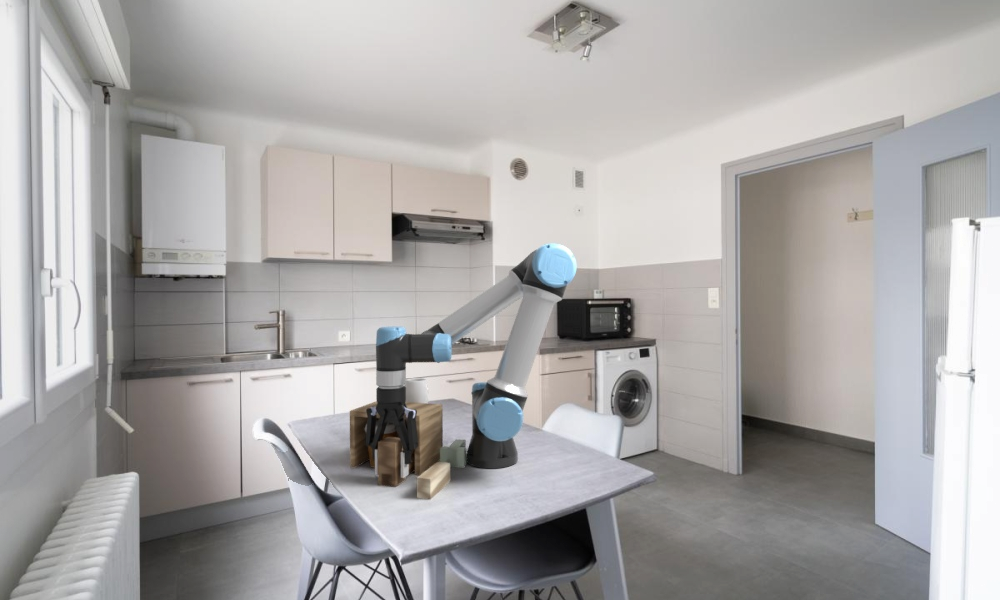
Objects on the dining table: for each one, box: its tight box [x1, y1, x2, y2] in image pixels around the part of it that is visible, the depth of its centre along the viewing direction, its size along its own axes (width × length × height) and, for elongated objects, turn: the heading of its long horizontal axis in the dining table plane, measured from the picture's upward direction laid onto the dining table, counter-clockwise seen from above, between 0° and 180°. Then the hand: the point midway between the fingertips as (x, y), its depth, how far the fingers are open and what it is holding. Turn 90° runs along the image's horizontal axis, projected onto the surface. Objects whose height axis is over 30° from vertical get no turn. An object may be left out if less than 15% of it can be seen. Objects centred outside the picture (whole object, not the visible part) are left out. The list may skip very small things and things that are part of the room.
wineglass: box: [404, 377, 429, 404], centre depth 161 cm, size 9×9×21 cm
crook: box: [377, 437, 415, 488], centre depth 135 cm, size 16×22×11 cm
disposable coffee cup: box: [364, 420, 397, 469], centre depth 139 cm, size 10×10×12 cm
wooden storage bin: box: [349, 400, 444, 476], centre depth 141 cm, size 22×15×16 cm
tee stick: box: [439, 438, 467, 469], centre depth 142 cm, size 7×10×5 cm
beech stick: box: [416, 461, 451, 500], centre depth 121 cm, size 4×12×5 cm, turn 163°
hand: (391, 474), depth 125 cm, fingers open, 7 cm apart
